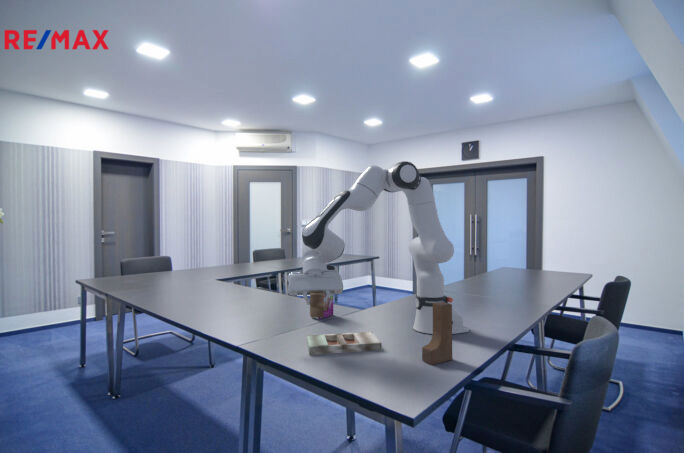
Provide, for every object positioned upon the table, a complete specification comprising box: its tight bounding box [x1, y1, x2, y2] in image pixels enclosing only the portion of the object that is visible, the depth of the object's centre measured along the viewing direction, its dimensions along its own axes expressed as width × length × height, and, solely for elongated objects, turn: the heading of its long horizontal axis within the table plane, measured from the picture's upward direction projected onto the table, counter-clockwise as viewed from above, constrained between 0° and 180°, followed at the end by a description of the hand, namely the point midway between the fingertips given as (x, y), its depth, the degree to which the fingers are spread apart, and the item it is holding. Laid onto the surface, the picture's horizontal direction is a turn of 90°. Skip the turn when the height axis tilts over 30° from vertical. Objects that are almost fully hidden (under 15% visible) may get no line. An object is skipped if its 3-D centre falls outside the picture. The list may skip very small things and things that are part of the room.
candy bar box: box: [311, 294, 335, 321], centre depth 164 cm, size 11×5×16 cm, turn 144°
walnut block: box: [309, 292, 324, 318], centre depth 122 cm, size 4×4×8 cm
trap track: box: [306, 331, 382, 356], centre depth 123 cm, size 25×13×2 cm, turn 100°
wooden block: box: [421, 302, 453, 366], centre depth 110 cm, size 9×4×18 cm, turn 118°
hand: (316, 303), depth 121 cm, fingers closed on walnut block, 4 cm apart
